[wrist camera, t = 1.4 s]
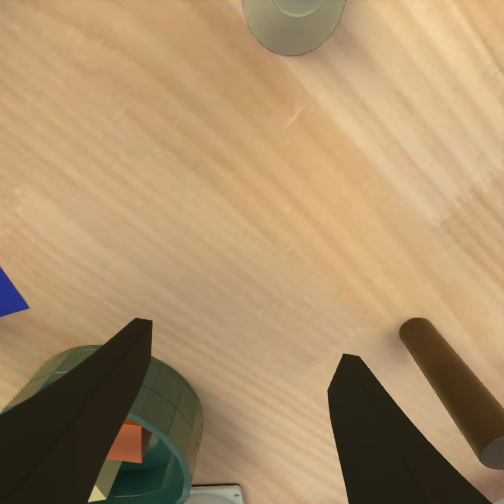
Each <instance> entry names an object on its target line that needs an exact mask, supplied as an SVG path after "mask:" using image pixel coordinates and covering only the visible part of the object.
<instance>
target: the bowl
mask: <svg viewBox="0 0 504 504" xmlns="http://www.w3.org/2000/svg"><path fill="white" fill-rule="evenodd" d="M101 346H103V345H96V346H84V347H78V348H74V349H70V350H67V351H65V352H62V353H60V354H58V355H56V356H54V357H53V358H51V359H49V360H48V361H47V362H46V363H45V364H44V365H43V366H42V367H41V368H40V369H39V370H38V371H37V372H36V373H35V374H34V375H33V376H32V377H31V378H30V379H29V380H28V381H27V382H26V383H25V384H24V385H23V387H22V388H21V389H20V390H19V391H18V392H17V393H16V394H15V395H14V396H13V397H12V399H11V400H10V401H9V402H8V403H7V404H6V405H5V406H4V407H3V408H2V409H1V410H0V415H1V414H2V413H4V412H6V411H8V410H9V409H11V408H13V407H14V406H16V405H18V404H20V403H21V402H23V401H25V400H26V399H28V398H30V397H31V396H33V395H34V394H36V393H37V392H39V391H41V390H42V389H44V388H45V387H47V386H48V385H50V384H51V383H53V382H54V381H56V380H57V379H59V378H60V377H62V376H63V375H64V374H66V373H67V372H68V371H70V370H71V369H73V368H74V367H75V366H77V365H78V364H79V363H81V362H82V361H84V360H85V359H86V358H88V357H89V356H90V355H91V354H93V353H94V352H95V351H96V350H98V349H99V348H100V347H101ZM126 418H127V419H130V420H132V421H135V422H137V423H138V424H140V425H141V426H142V427H144V428H145V429H147V430H148V431H150V432H151V433H152V436H151V439H150V442H149V445H148V447H147V450H146V453H145V456H144V458H143V461H142V463H136V462H127V461H122V463H121V465H120V468H119V470H118V473H117V475H116V477H115V480H114V482H113V485H112V487H111V489H110V492H109V494H108V496H107V499H105V500H98V501H92V502H88V503H87V504H185V502H186V501H187V500H188V499H189V496H190V491H191V486H192V481H193V475H194V470H195V465H196V460H197V455H198V450H199V445H200V440H201V435H202V429H203V412H202V407H201V405H200V402H199V399H198V398H197V396H196V394H195V392H194V391H193V389H192V388H191V387H190V385H189V384H188V383H187V382H186V381H185V380H184V379H183V378H182V377H181V376H180V375H179V374H178V373H177V372H175V371H174V370H173V369H172V368H170V367H169V366H167V365H165V364H164V363H162V362H161V361H159V360H157V359H155V358H153V357H151V362H150V365H149V368H148V370H147V373H146V376H145V378H144V381H143V384H142V386H141V389H140V391H139V393H138V395H137V397H136V399H135V401H134V403H133V405H132V407H131V409H130V411H129V413H128V415H127V417H126Z"/></svg>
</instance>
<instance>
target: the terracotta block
mask: <svg viewBox="0 0 504 504" xmlns="http://www.w3.org/2000/svg"><path fill="white" fill-rule="evenodd" d="M151 436H152V433H151V432H150V431H148V430H147V429H145V428H144V427H142V426H141V425H140V424H138V423H137V422H135V421H132V420H130V419H127V418H126V419H125V421H124V423H123V425H122V427H121V429H120V431H119V433H118V435H117V437H116V439H115V441H114V443H113V445H112V447H111V449H110V451H109V453H108V455H107V457H106V459H111V460H119V461H127V462H136V463H142V461H143V458H144V456H145V453H146V450H147V447H148V445H149V442H150V439H151Z"/></svg>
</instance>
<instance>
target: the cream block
mask: <svg viewBox="0 0 504 504" xmlns="http://www.w3.org/2000/svg"><path fill="white" fill-rule="evenodd" d="M121 463H122V461H119V460H111V459H105V462H104V464H103V466H102V468H101V471H100V473H99V476H98V478H97V481H96V483H95V486H94V488H93V491H92V493H91V496H90V498H89V501H88V502H92V501H98V500H105V499H107V496H108V494H109V492H110V489H111V487H112V485H113V482H114V480H115V477H116V475H117V473H118V470H119V468H120V465H121Z"/></svg>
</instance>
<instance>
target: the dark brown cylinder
mask: <svg viewBox="0 0 504 504" xmlns="http://www.w3.org/2000/svg"><path fill="white" fill-rule="evenodd" d="M399 335H400V338H401V340H402V342H403V343H404V345H405V346H406V348H407V349H408V351H409V352H410V354H411V356H412V357H413V359H414V360H415V362H416V363H417V365H418V366H419V368H420V369H421V371H422V373H423V374H424V376H425V377H426V379H427V380H428V382H429V383H430V385H431V386H432V388H433V390H434V391H435V393H436V394H437V396H438V397H439V399H440V400H441V402H442V403H443V405H444V407H445V408H446V410H447V411H448V413H449V414H450V416H451V417H452V419H453V420H454V422H455V424H456V425H457V427H458V428H459V430H460V431H461V433H462V434H463V436H464V437H465V439H466V440H467V442H468V444H469V445H470V447H471V448H472V450H473V451H474V453H475V454H476V456H477V457H478V459H479V461H480V462H481V463H482V464H483V465H484V466H486V467H488V468H491V469H497V470H503V469H504V408H503V407H502V406H501V405H500V403H499V402H498V401H497V400H496V399H495V397H494V396H493V395H492V394H491V393H490V392H489V390H488V389H487V388H486V387H485V386H484V385H483V383H482V382H481V381H480V380H479V379H478V378H477V376H476V375H475V374H474V373H473V372H472V371H471V369H470V368H469V367H468V366H467V365H466V364H465V362H464V361H463V360H462V359H461V358H460V356H459V355H458V354H457V353H456V352H455V351H454V349H453V348H452V347H451V346H450V345H449V344H448V342H447V341H446V340H445V339H444V338H443V337H442V335H441V334H440V333H439V332H438V331H437V330H436V328H435V327H434V326H433V325H432V324H431V323H430V322H429V321H428V320H426V319H423V318H415V319H411V320H409V321H407V322H406V323H404V324H403V326H402V327H401V329H400V332H399Z"/></svg>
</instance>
